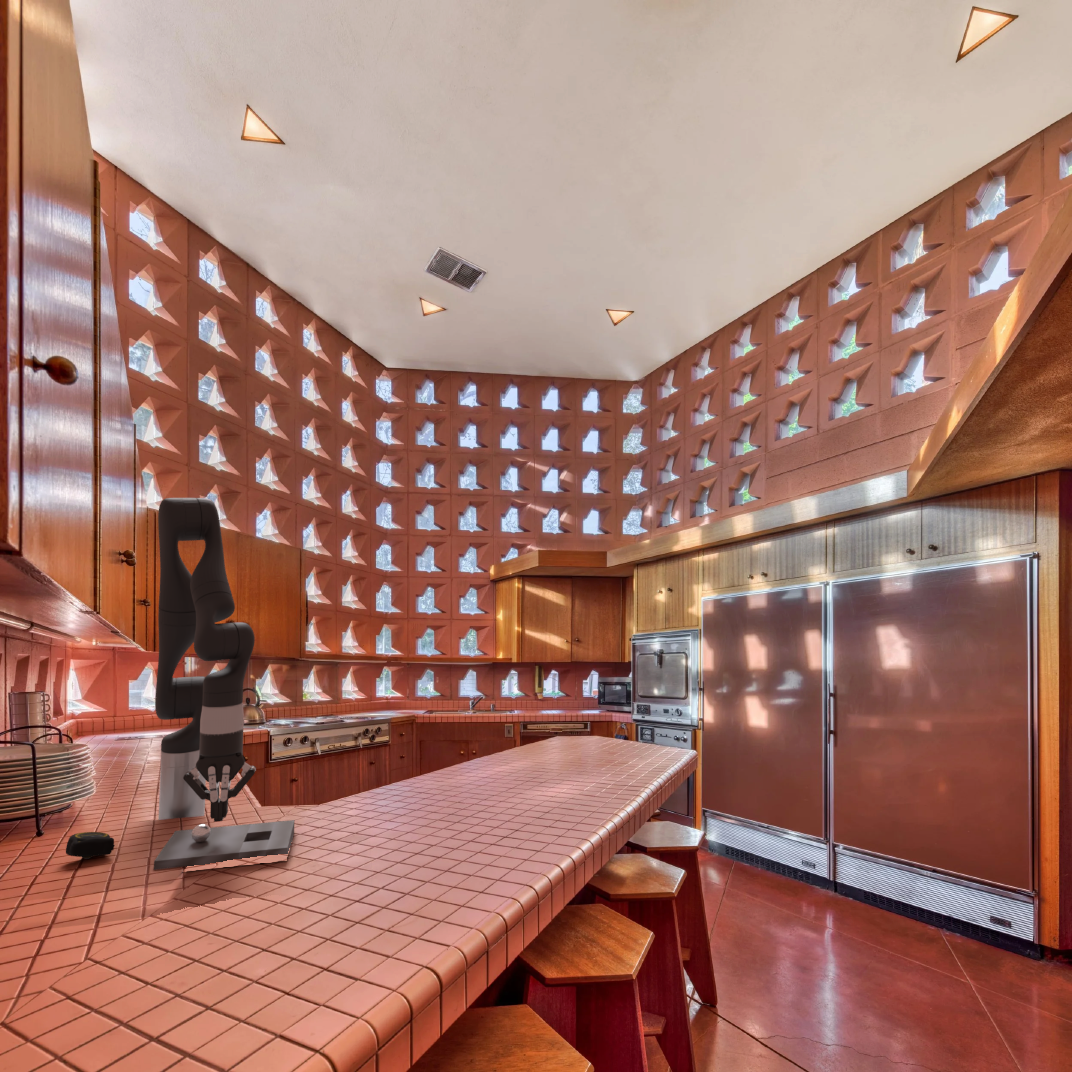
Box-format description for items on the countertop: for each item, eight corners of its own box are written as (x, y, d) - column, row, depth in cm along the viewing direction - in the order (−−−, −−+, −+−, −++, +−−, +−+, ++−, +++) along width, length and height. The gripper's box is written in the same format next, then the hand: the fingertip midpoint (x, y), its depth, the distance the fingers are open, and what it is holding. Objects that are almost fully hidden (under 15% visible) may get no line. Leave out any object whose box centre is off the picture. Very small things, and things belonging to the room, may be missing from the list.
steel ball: (190, 840, 123) (190, 823, 123) (208, 836, 125) (209, 819, 125) (192, 846, 120) (193, 828, 120) (211, 842, 122) (212, 825, 122)
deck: (153, 875, 114) (154, 861, 114) (174, 843, 128) (175, 830, 128) (287, 861, 120) (287, 847, 120) (294, 832, 133) (294, 819, 134)
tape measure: (68, 862, 116) (73, 839, 117) (60, 854, 121) (65, 832, 122) (111, 859, 121) (116, 837, 122) (102, 851, 126) (107, 830, 127)
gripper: (178, 734, 119) (175, 831, 118) (256, 730, 123) (254, 823, 122) (187, 725, 127) (184, 816, 126) (261, 721, 130) (258, 809, 129)
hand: (219, 819), depth 124 cm, fingers closed
